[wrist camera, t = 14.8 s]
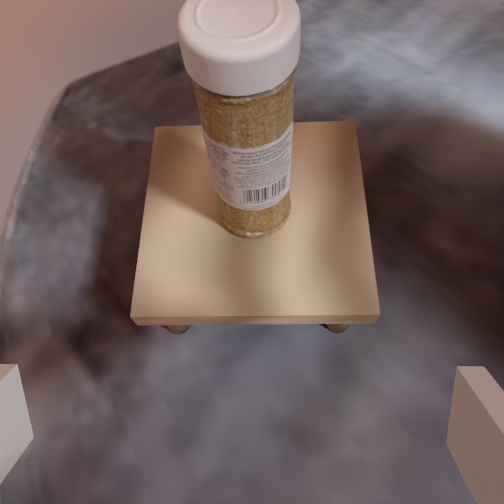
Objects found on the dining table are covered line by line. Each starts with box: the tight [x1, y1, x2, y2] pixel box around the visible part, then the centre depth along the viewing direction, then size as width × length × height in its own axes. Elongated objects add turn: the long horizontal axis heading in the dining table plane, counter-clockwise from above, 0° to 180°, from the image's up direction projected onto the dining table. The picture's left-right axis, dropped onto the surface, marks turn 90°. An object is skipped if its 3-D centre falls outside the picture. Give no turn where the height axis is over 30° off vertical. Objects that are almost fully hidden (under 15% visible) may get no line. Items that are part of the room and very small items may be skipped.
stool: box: [130, 121, 380, 334], centre depth 31 cm, size 14×14×6 cm
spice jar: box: [177, 0, 300, 238], centre depth 22 cm, size 5×5×14 cm
